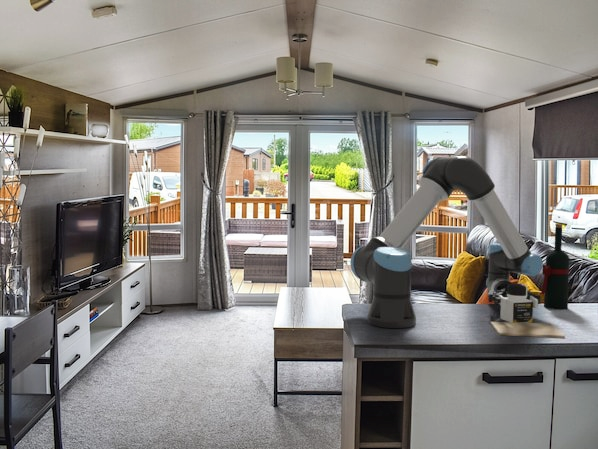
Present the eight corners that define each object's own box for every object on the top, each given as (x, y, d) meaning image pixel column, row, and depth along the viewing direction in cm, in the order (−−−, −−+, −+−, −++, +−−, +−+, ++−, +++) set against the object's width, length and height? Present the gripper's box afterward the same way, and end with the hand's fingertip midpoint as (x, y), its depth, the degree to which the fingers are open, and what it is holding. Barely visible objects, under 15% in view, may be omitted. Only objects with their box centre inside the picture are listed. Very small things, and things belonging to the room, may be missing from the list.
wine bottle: (533, 305, 205) (536, 223, 203) (557, 304, 208) (560, 223, 206) (548, 310, 198) (551, 225, 196) (572, 309, 200) (576, 224, 198)
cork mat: (499, 335, 165) (499, 333, 165) (490, 323, 179) (490, 321, 179) (564, 337, 163) (564, 335, 162) (550, 325, 176) (550, 323, 176)
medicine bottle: (513, 324, 178) (514, 286, 177) (499, 318, 185) (501, 282, 184) (532, 322, 180) (534, 285, 179) (519, 317, 187) (520, 281, 186)
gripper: (536, 302, 199) (556, 316, 176) (472, 300, 202) (484, 314, 179) (537, 280, 198) (557, 293, 176) (473, 279, 201) (484, 290, 179)
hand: (520, 303), depth 178 cm, fingers closed on medicine bottle, 9 cm apart
